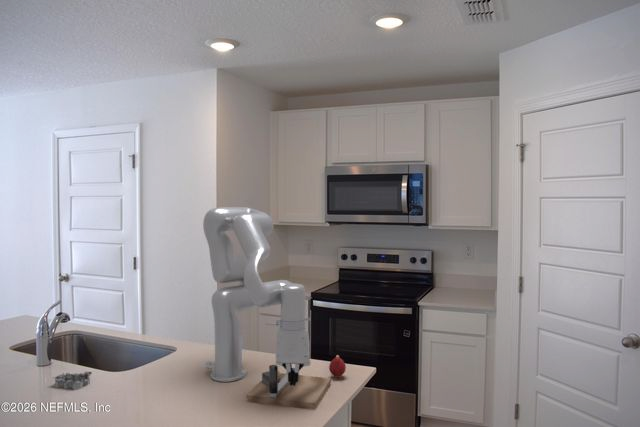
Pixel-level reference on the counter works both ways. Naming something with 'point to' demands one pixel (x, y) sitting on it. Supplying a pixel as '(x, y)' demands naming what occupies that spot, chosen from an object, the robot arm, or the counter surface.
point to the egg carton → (72, 380)
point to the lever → (276, 381)
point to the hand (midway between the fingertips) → (293, 383)
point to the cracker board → (292, 392)
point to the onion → (337, 367)
